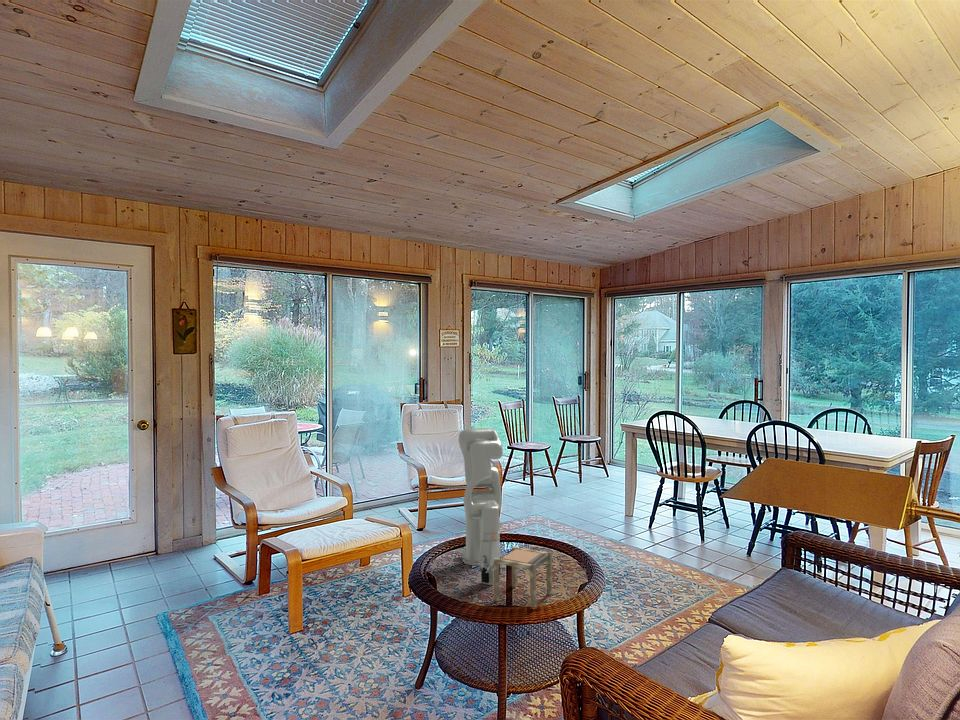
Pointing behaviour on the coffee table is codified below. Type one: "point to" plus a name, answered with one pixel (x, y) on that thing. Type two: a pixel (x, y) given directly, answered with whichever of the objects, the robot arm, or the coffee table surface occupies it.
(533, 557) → the trapdoor
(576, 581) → the coffee table surface
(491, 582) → the smooth gray block
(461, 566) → the coffee table surface
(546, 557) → the trapdoor frame
